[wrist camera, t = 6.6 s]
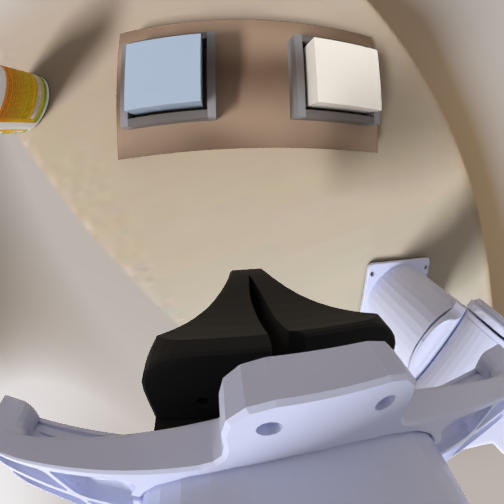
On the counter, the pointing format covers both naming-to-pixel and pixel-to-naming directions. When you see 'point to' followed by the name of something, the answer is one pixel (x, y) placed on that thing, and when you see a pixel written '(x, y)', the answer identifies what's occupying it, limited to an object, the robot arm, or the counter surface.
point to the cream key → (341, 76)
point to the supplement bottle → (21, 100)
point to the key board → (245, 94)
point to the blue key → (164, 74)
